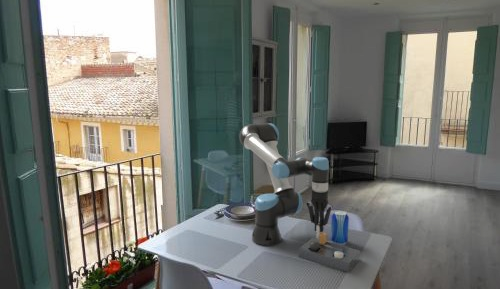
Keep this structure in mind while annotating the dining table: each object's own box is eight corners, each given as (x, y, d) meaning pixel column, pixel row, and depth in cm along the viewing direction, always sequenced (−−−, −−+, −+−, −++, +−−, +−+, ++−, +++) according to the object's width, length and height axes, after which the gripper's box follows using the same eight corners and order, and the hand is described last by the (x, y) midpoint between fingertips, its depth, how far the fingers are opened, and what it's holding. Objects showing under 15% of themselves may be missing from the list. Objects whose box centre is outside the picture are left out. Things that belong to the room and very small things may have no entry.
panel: (298, 256, 166) (299, 246, 165) (312, 246, 177) (312, 236, 176) (348, 272, 152) (349, 261, 151) (359, 260, 163) (360, 249, 162)
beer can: (348, 246, 176) (349, 216, 174) (330, 245, 178) (331, 214, 175) (346, 239, 184) (348, 210, 182) (330, 238, 186) (331, 209, 183)
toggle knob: (318, 244, 169) (319, 234, 168) (321, 241, 171) (322, 232, 170) (323, 245, 167) (323, 236, 166) (326, 242, 170) (326, 233, 169)
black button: (308, 250, 164) (308, 243, 163) (312, 247, 167) (312, 240, 167) (316, 252, 162) (316, 245, 161) (320, 249, 165) (320, 242, 164)
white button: (332, 261, 157) (332, 253, 157) (336, 257, 160) (336, 250, 160) (341, 263, 155) (341, 256, 154) (344, 260, 158) (344, 252, 157)
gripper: (303, 189, 167) (302, 237, 171) (329, 194, 159) (328, 243, 163) (311, 186, 173) (310, 232, 177) (336, 190, 165) (334, 238, 169)
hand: (318, 237), depth 170 cm, fingers closed
